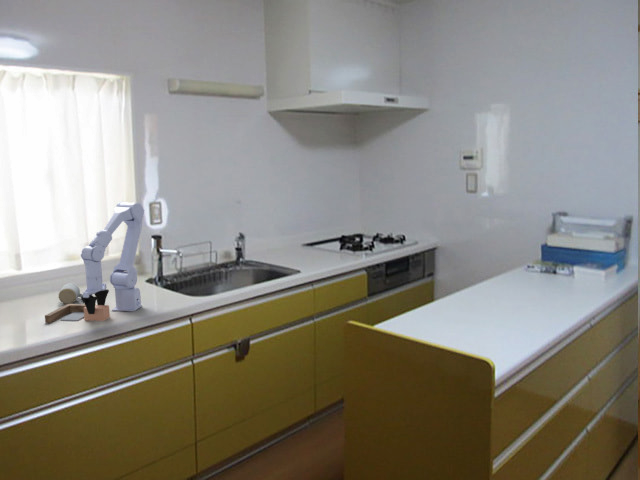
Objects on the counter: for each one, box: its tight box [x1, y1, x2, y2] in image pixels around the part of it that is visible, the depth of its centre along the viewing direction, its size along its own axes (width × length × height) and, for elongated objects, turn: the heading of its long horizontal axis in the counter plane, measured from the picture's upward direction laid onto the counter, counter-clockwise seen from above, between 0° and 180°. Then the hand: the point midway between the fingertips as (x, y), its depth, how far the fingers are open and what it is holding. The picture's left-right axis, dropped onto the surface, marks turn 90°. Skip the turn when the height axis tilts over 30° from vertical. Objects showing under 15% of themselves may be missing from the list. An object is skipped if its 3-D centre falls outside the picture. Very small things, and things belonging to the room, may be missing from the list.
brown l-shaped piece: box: [44, 303, 97, 324], centre depth 217 cm, size 12×16×3 cm
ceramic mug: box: [58, 282, 84, 305], centre depth 238 cm, size 11×8×8 cm
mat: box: [60, 312, 84, 322], centre depth 217 cm, size 7×10×1 cm
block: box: [83, 304, 111, 322], centre depth 215 cm, size 8×4×5 cm, turn 83°
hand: (96, 311), depth 214 cm, fingers open, 7 cm apart
